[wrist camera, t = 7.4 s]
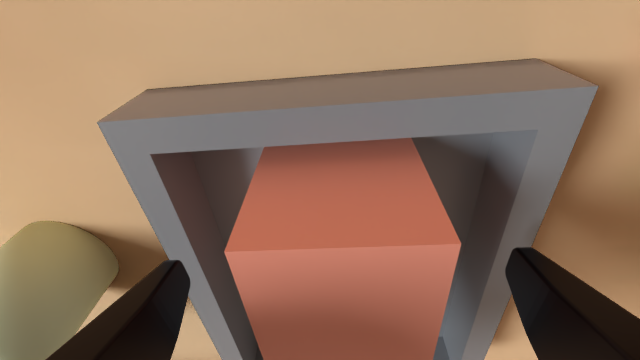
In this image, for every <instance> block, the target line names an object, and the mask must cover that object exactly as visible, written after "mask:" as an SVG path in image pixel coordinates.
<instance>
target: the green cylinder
mask: <svg viewBox="0 0 640 360" xmlns="http://www.w3.org/2000/svg"><path fill="white" fill-rule="evenodd" d="M118 270H119V265H118V261H117V258H116V256H115V255H114V253H113V252H112V251H111V249H110V248H109V247H108V246H107V245H106V244H105V243H103V242H102V241H101V240H100V239H98V238H97V237H95V236H94V235H92V234H90V233H89V232H87V231H85V230H82V229H80V228H78V227H75V226H72V225H69V224H65V223H61V222H54V221H39V222H34V223H31V224H28V225H27V226H25V227H24V228H23V229H21V230H20V231H19V232H18V233H17V234H15V235H14V236H13V237H12V238H11V239H10V240H8V241H7V242H6V243H5V244H4V245H2V246H1V247H0V360H45V359H47V358H48V357H49V356H50V355H51V354H53V353H54V352H55V351H56V350H57V349H59V348H60V347H61V346H62V345H63V344H65V343H66V342H67V341H68V340H70V339H71V338H72V337H73V336H74V335H75V334H76V332H77V331H78V329H79V328H80V327H81V325H82V324H83V322H84V321H85V319H86V318H87V317H88V315H89V314H90V312H91V311H92V309H93V308H94V307H95V305H96V304H97V302H98V301H99V299H100V298H101V297H102V295H103V294H104V292H105V291H106V290H107V288H108V287H109V285H110V284H111V282H112V281H113V280H114V278H115V277H116V275H117V273H118Z"/></svg>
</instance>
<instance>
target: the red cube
mask: <svg viewBox="0 0 640 360" xmlns="http://www.w3.org/2000/svg"><path fill="white" fill-rule="evenodd" d="M460 247H461V242H460V240H459V238H458V236H457V234H456V232H455V229H454V227H453V225H452V223H451V221H450V219H449V217H448V215H447V212H446V210H445V208H444V206H443V204H442V202H441V200H440V198H439V196H438V193H437V191H436V189H435V187H434V185H433V183H432V181H431V179H430V176H429V174H428V172H427V170H426V168H425V166H424V164H423V162H422V160H421V157H420V155H419V153H418V151H417V149H416V147H415V145H414V143H413V141H412V138H398V139H382V140H366V141H351V142H335V143H319V144H303V145H287V146H272V147H264V149H263V151H262V154H261V156H260V159H259V162H258V164H257V167H256V170H255V172H254V175H253V177H252V180H251V183H250V185H249V188H248V191H247V193H246V196H245V198H244V201H243V204H242V206H241V209H240V212H239V214H238V217H237V219H236V222H235V225H234V227H233V230H232V233H231V235H230V238H229V241H228V243H227V246H226V248H225V251H224V253H225V255H226V258H227V261H228V264H229V266H230V269H231V272H232V275H233V277H234V280H235V283H236V286H237V288H238V291H239V294H240V297H241V299H242V302H243V305H244V308H245V310H246V313H247V316H248V318H249V321H250V324H251V327H252V329H253V332H254V335H255V338H256V340H257V343H258V346H259V349H260V351H261V354H262V357H263V360H433V357H434V353H435V349H436V345H437V341H438V337H439V332H440V328H441V324H442V320H443V316H444V312H445V308H446V304H447V300H448V296H449V292H450V288H451V284H452V280H453V276H454V272H455V268H456V264H457V260H458V255H459V251H460Z"/></svg>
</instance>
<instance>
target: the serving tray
mask: <svg viewBox="0 0 640 360" xmlns="http://www.w3.org/2000/svg"><path fill="white" fill-rule="evenodd" d="M598 87H599V86H598V85H595V84H593V83H591V82H588V81H586V80H584V79H582V78H579V77H577V76H575V75H572V74H570V73H568V72H566V71H563V70H561V69H559V68H556V67H554V66H552V65H550V64H547V63H545V62H543V61H540V60H538V59H523V60H511V61H498V62H486V63H473V64H460V65H448V66H435V67H423V68H410V69H398V70H385V71H373V72H360V73H347V74H335V75H322V76H310V77H297V78H285V79H272V80H260V81H247V82H235V83H222V84H209V85H197V86H184V87H172V88H159V89H147V90H146V91H144V92H143V93H141V94H139V95H138V96H136V97H135V98H133V99H132V100H130V101H129V102H127V103H126V104H124V105H123V106H121V107H119V108H118V109H116V110H115V111H113V112H112V113H110V114H109V115H107V116H106V117H104V118H103V119H101V120H99V121H98V122H97V124H98V126H99V127H100V129H101V131H102V133H103V135H104V137H105V139H106V141H107V143H108V145H109V146H110V148H111V150H112V152H113V154H114V156H115V158H116V160H117V162H118V164H119V165H120V167H121V169H122V171H123V173H124V175H125V177H126V179H127V181H128V182H129V184H130V186H131V188H132V190H133V192H134V194H135V196H136V198H137V200H138V201H139V203H140V205H141V207H142V209H143V211H144V213H145V215H146V217H147V219H148V220H149V222H150V224H151V226H152V228H153V230H154V232H155V234H156V236H157V237H158V239H159V241H160V243H161V245H162V247H163V249H164V251H165V253H166V255H167V256H168V258H169V260H180V261H181V262H182V263H183V265H184V267H185V269H186V271H187V273H188V275H189V277H190V282H191V284H190V290H189V294H188V296H189V298H190V300H191V302H192V304H193V306H194V308H195V310H196V311H197V313H198V315H199V317H200V319H201V321H202V323H203V325H204V327H205V328H206V330H207V332H208V334H209V336H210V338H211V340H212V342H213V344H214V346H215V347H216V349H217V351H218V353H219V355H220V357H221V359H222V360H263V357H262V354H261V351H260V349H259V346H258V343H257V340H256V338H255V335H254V332H253V329H252V327H251V324H250V321H249V318H248V316H247V313H246V310H245V308H244V305H243V302H242V299H241V297H240V294H239V291H238V288H237V286H236V283H235V280H234V277H233V275H232V272H231V269H230V266H229V264H228V261H227V258H226V255H225V253H224V251H225V248H226V246H227V243H228V241H229V238H230V235H231V233H232V230H233V227H234V225H235V222H236V219H237V217H238V214H239V212H240V209H241V206H242V204H243V201H244V198H245V196H246V193H247V191H248V188H249V185H250V183H251V180H252V177H253V175H254V172H255V170H256V167H257V164H258V162H259V159H260V156H261V154H262V151H263V149H264V147H272V146H287V145H303V144H319V143H335V142H351V141H366V140H382V139H398V138H412V141H413V143H414V145H415V147H416V149H417V151H418V153H419V155H420V157H421V160H422V162H423V164H424V166H425V168H426V170H427V172H428V174H429V176H430V179H431V181H432V183H433V185H434V187H435V189H436V191H437V193H438V196H439V198H440V200H441V202H442V204H443V206H444V208H445V210H446V212H447V215H448V217H449V219H450V221H451V223H452V225H453V227H454V229H455V232H456V234H457V236H458V238H459V240H460V242H461V247H460V251H459V255H458V260H457V264H456V268H455V272H454V276H453V280H452V284H451V288H450V292H449V296H448V300H447V304H446V308H445V312H444V316H443V320H442V324H441V328H440V332H439V337H438V341H437V345H436V349H435V353H434V357H433V360H484V359H485V356H486V354H487V351H488V349H489V347H490V344H491V342H492V339H493V337H494V335H495V332H496V330H497V328H498V325H499V323H500V320H501V318H502V316H503V313H504V311H505V308H506V306H507V304H508V301H509V299H510V297H511V294H512V293H511V290H510V287H509V284H508V282H507V279H506V275H505V268H506V265H507V262H508V259H509V257H510V254H511V251H512V250H513V249H514V248H516V247H531V246H532V244H533V242H534V239H535V237H536V235H537V232H538V230H539V227H540V225H541V223H542V220H543V218H544V215H545V213H546V211H547V208H548V206H549V204H550V201H551V199H552V196H553V194H554V192H555V189H556V187H557V184H558V182H559V180H560V177H561V175H562V172H563V170H564V168H565V165H566V163H567V161H568V158H569V156H570V153H571V151H572V149H573V146H574V144H575V141H576V139H577V137H578V134H579V132H580V130H581V127H582V125H583V122H584V120H585V118H586V115H587V113H588V110H589V108H590V106H591V103H592V101H593V99H594V96H595V94H596V91H597V89H598Z"/></svg>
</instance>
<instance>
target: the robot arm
mask: <svg viewBox="0 0 640 360" xmlns="http://www.w3.org/2000/svg"><path fill="white" fill-rule="evenodd" d="M505 275H506V279H507V282H508V284H509V287H510V290H511V293H512V296H513V298H514V301H515V304H516V307H517V310H518V312H519V315H520V318H521V321H522V324H523V326H524V329H525V331H526V334H527V336H528V338H529V341H530V343H531V345H532V347H533V349H534V351H535V353H536V355H537V358H538V360H640V319H639V318H637V317H636V316H634V315H633V314H631V313H630V312H628V311H627V310H625V309H624V308H622V307H621V306H619V305H618V304H616V303H615V302H613V301H612V300H610V299H609V298H607V297H606V296H604V295H603V294H601V293H600V292H598V291H597V290H595V289H594V288H592V287H591V286H589V285H588V284H586V283H585V282H583V281H582V280H580V279H579V278H577V277H576V276H574V275H573V274H571V273H570V272H568V271H567V270H565V269H564V268H562V267H561V266H559V265H558V264H556V263H555V262H553V261H552V260H550V259H549V258H547V257H546V256H544V255H543V254H541V253H540V252H538V251H537V250H535V249H533V248H531V247H516V248H514V249H513V250H512V251H511V254H510V257H509V259H508V262H507V265H506V268H505ZM190 284H191V282H190V277H189V275H188V273H187V271H186V269H185V267H184V265H183V263H182V262H181V261H180V260H166V261H164V262H162V263H161V264H160V265H159V266H158V267H156V268H155V269H154V270H153V271H152V272H150V273H149V274H148V275H147V276H145V277H144V278H143V279H142V280H141V281H139V282H138V283H137V284H136V285H135V286H133V287H132V288H131V289H130V290H129V291H127V292H126V293H125V294H124V295H123V296H121V297H120V298H119V299H118V300H117V301H115V302H114V303H113V304H112V305H111V306H109V307H108V308H107V309H106V310H104V311H103V312H102V313H101V314H100V315H98V316H97V317H96V318H95V319H94V320H92V321H91V322H90V323H89V324H88V325H86V326H85V327H84V328H83V329H82V330H80V331H79V332H78V333H77V334H76V335H74V336H73V337H72V338H71V339H70V340H68V341H67V342H66V343H65V344H63V345H62V346H61V347H60V348H59V349H57V350H56V351H55V352H54V353H53V354H51V355H50V356H49V357H48V358H47V359H45V360H170V359H171V356H172V353H173V350H174V348H175V344H176V341H177V338H178V334H179V331H180V327H181V323H182V318H183V314H184V310H185V306H186V302H187V298H188V294H189V290H190Z"/></svg>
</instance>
